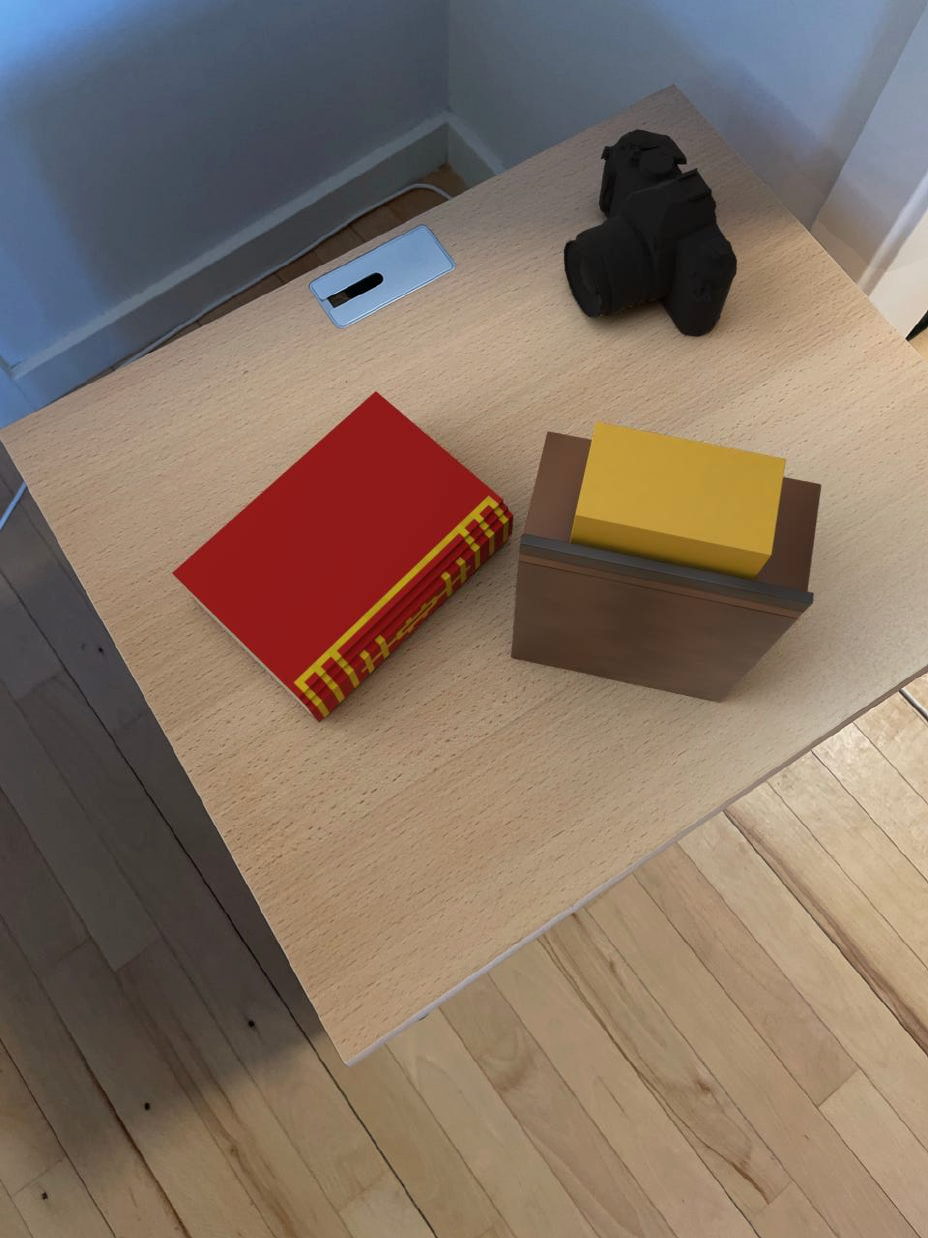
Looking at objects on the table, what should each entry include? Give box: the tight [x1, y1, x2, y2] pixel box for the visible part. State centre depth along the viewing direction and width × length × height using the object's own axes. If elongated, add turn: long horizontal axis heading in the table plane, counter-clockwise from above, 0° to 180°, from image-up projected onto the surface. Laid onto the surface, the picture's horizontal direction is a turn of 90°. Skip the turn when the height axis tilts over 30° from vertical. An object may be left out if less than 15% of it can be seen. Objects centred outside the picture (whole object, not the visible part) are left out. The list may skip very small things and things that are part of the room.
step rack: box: [510, 559, 799, 704], centre depth 59 cm, size 14×13×17 cm
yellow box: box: [570, 421, 787, 580], centre depth 47 cm, size 5×9×4 cm, turn 76°
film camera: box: [563, 128, 738, 337], centre depth 71 cm, size 15×10×9 cm, turn 25°
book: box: [171, 390, 514, 724], centre depth 65 cm, size 18×13×5 cm
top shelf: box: [518, 431, 822, 619], centre depth 49 cm, size 14×7×2 cm, turn 77°
